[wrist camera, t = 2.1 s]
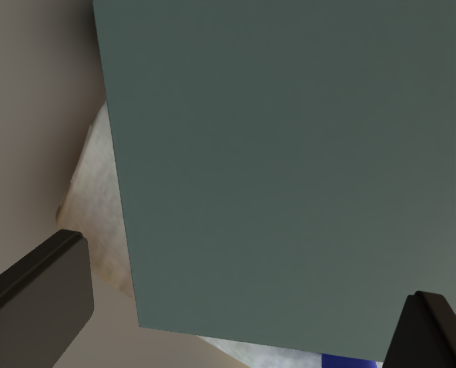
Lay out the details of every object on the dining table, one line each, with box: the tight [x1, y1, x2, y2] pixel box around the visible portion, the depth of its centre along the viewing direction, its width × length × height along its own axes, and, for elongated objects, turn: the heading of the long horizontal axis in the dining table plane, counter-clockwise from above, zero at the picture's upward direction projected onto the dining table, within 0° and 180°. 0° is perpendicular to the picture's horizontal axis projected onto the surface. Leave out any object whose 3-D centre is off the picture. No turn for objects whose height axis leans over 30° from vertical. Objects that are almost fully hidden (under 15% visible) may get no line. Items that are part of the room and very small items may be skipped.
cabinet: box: [92, 0, 456, 362], centre depth 26 cm, size 18×26×24 cm
